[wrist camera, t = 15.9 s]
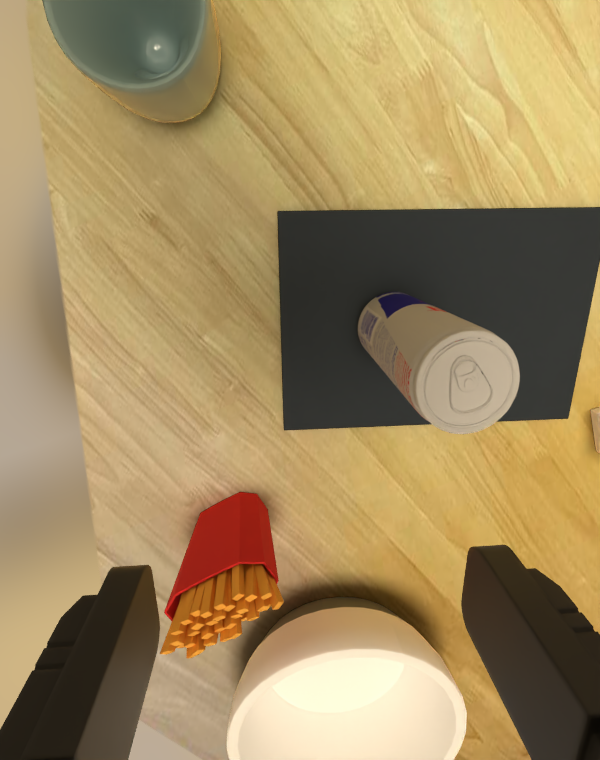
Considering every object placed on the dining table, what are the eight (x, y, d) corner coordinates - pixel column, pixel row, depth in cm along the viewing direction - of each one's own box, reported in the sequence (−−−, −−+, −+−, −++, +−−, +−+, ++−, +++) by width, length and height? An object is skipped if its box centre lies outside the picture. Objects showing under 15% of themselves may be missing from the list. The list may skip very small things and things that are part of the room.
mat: (283, 427, 39) (283, 430, 38) (277, 211, 33) (277, 211, 32) (564, 416, 40) (568, 418, 40) (605, 207, 34) (610, 207, 34)
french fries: (205, 552, 42) (178, 683, 30) (180, 521, 41) (142, 644, 29) (286, 510, 42) (294, 627, 29) (263, 477, 40) (261, 584, 28)
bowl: (205, 705, 49) (192, 796, 41) (278, 550, 43) (280, 621, 35) (381, 743, 53) (401, 832, 45) (471, 606, 47) (513, 682, 39)
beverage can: (396, 370, 37) (475, 455, 23) (343, 335, 36) (391, 402, 22) (437, 315, 36) (547, 369, 22) (383, 277, 34) (463, 307, 20)
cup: (233, 14, 29) (215, -93, 19) (223, 144, 31) (203, 105, 22) (112, -10, 28) (32, -134, 19) (111, 125, 30) (40, 76, 21)
